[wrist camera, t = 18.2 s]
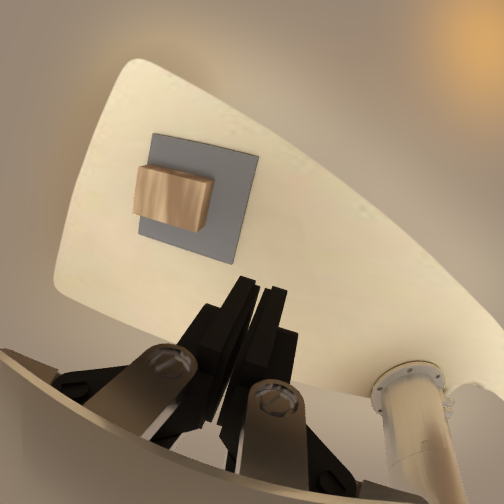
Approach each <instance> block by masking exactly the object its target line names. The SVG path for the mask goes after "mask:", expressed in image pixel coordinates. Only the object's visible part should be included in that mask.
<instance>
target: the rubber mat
mask: <svg viewBox="0 0 504 504" xmlns="http://www.w3.org/2000/svg"><path fill="white" fill-rule="evenodd" d="M258 158H259V157H257V156H254V155H250V154H246V153H242V152H238V151H234V150H229V149H225V148H221V147H217V146H212V145H208V144H203V143H199V142H194V141H189V140H184V139H179V138H174V137H169V136H164V135H159V134H153V135H152V140H151V146H150V152H149V158H148V164H147V165H149V164H152V165H156V166H160V167H165V168H169V169H173V170H177V171H181V172H185V173H190V174H194V175H198V176H201V177H205V178H209V179H213V180H215V181H214V186H213V190H212V195H211V200H210V205H209V210H208V215H207V220H206V225H205V226H204V227H203V228H202V229H201V230H199V231H198V232H197V233H196V232H192V231H189V230H186V229H182V228H179V227H176V226H173V225H169V224H166V223H163V222H160V221H156V220H153V219H150V218H147V217H143V216H140V223H139V232H138V234H140V235H143V236H146V237H149V238H152V239H155V240H158V241H161V242H164V243H167V244H170V245H173V246H176V247H179V248H182V249H185V250H188V251H191V252H194V253H197V254H200V255H203V256H206V257H209V258H212V259H215V260H218V261H221V262H225V263H228V264H231V265H232V264H233V260H234V256H235V252H236V248H237V244H238V239H239V235H240V231H241V227H242V223H243V219H244V215H245V210H246V206H247V202H248V198H249V194H250V190H251V186H252V182H253V178H254V174H255V170H256V166H257V162H258Z"/></svg>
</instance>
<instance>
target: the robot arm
mask: <svg viewBox="0 0 504 504" xmlns="http://www.w3.org/2000/svg"><path fill="white" fill-rule="evenodd" d="M255 282H256V280H253V279H249V278H246V277H243V276H240V277H239V279H238V280H237V282H236V284H235V285H234V287H233V288H232V290H231V292H230V293H229V295H228V297H227V298H226V300H225V302H224V303H223V305H222V307H221V308H219V307H216V306H213V305H210V304H208V303H206V304H205V305H204V306H203V308H202V309H201V310H200V312H199V313H198V315H197V316H196V318H195V319H194V320H193V322H192V323H191V325H190V326H189V327H188V329H187V330H186V332H185V333H184V335H183V336H182V337H181V339H180V340H179V342H178V343H177V345H175V344H169V343H166V344H158V345H154V346H152V347H150V348H149V349H147V350H146V351H145V352H144V353H142V354H141V355H140V356H139V357H138V358H137V359H135V360H134V361H133V362H132V363H131V364H130V365H126V366H118V367H110V368H103V369H94V370H85V371H75V372H69V373H64V374H60V373H59V370H58V369H56V368H54V367H51V366H48V365H46V364H43V363H41V362H38V361H36V360H33V359H31V358H29V357H26V356H24V355H22V354H20V353H17V352H15V351H13V350H10V349H6V348H5V349H0V504H469V501H468V498H467V495H466V492H465V489H464V486H463V482H462V478H461V474H460V470H459V466H458V461H457V457H456V453H455V449H454V445H453V441H452V437H451V433H450V429H449V426H448V422H447V419H448V418H450V417H451V415H452V409H451V408H445V407H443V406H444V405H445V406H449V407H452V406H453V405H454V403H455V401H454V399H450V398H445V397H444V394H443V390H444V386H445V380H444V376H443V373H442V372H441V370H440V369H439V368H438V367H437V366H436V365H434V364H431V363H428V362H410V363H406V364H402V365H400V366H397V367H395V368H393V369H391V370H390V371H388V372H387V373H385V374H384V375H383V376H382V377H381V378H380V379H379V380H378V381H377V382H376V383H375V385H374V387H373V389H372V392H371V403H372V406H373V409H374V410H375V411H376V412H377V413H378V414H380V415H381V416H382V417H383V427H384V438H385V449H386V465H387V483H388V487H387V486H383V485H380V484H377V483H373V482H371V481H367V480H363V481H361V482H359V481H356V480H355V479H354V477H353V476H352V474H351V473H350V472H349V470H347V468H345V466H344V465H343V464H342V463H341V462H340V461H339V460H338V459H337V458H336V457H335V456H334V454H332V452H331V451H330V450H329V449H328V448H327V447H326V446H325V445H324V444H323V442H322V441H321V440H320V439H319V438H318V437H317V436H316V435H315V433H314V432H313V431H312V430H311V429H310V428H309V427H308V426H307V424H306V418H305V404H304V400H303V397H302V395H301V394H300V392H299V391H298V390H297V389H295V388H294V387H293V386H292V385H290V380H291V374H292V369H293V363H294V357H295V352H296V346H297V340H298V333H296V332H293V331H290V330H286V329H283V328H280V327H278V326H279V322H280V319H281V315H282V311H283V307H284V303H285V299H286V295H287V290H284V289H281V288H278V287H275V286H272V289H271V290H270V289H267V288H265V290H264V292H263V295H262V297H261V299H260V302H259V304H258V307H257V309H256V312H255V314H254V317H253V319H252V322H251V324H250V321H251V317H252V314H253V311H254V307H255V304H256V301H257V297H258V294H259V290H260V286H258V285H255ZM249 324H250V326H249ZM248 328H249V329H248ZM230 377H231V378H230ZM229 380H230V381H229ZM228 382H229V385H228ZM227 385H228V388H227V391H226V395H225V398H224V402H223V405H222V408H221V411H220V415H219V418H218V421H217V425H220V426H222V429H221V432H220V435H219V437H220V439H221V440H222V442H223V443H224V445H225V446H226V448H227V451H226V453H225V459H224V465H223V470H222V469H219V468H216V467H213V466H210V465H207V464H204V463H201V462H199V461H196V460H194V459H191V458H188V457H186V456H183V455H180V454H178V453H176V452H173V451H174V450H175V449H176V448H177V446H178V445H179V444H180V442H181V441H182V440H183V438H184V436H185V434H186V432H189V431H192V430H195V429H198V428H200V429H202V426H203V424H204V422H205V421H208V422H212V420H213V418H214V415H215V413H216V411H217V408H218V406H219V404H220V401H221V399H222V397H223V394H224V392H225V389H226V387H227Z"/></svg>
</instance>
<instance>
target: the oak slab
mask: <svg viewBox="0 0 504 504" xmlns="http://www.w3.org/2000/svg"><path fill="white" fill-rule="evenodd" d="M214 181H215V180H213V179H209V178H205V177H201V176H198V175H194V174H190V173H185V172H181V171H177V170H173V169H169V168H165V167H160V166H156V165H152V164H149V165H145V166H140V167H138V174H137V181H136V188H135V196H134V205H133V213H134V214H137V215H140V216H143V217H147V218H150V219H153V220H156V221H160V222H163V223H166V224H169V225H173V226H176V227H179V228H182V229H186V230H189V231H192V232H196V233H197V232H198V231H199V230H201V229H202V228H203V227H204V226H205V225H206V220H207V215H208V210H209V205H210V200H211V195H212V190H213V186H214Z"/></svg>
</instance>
